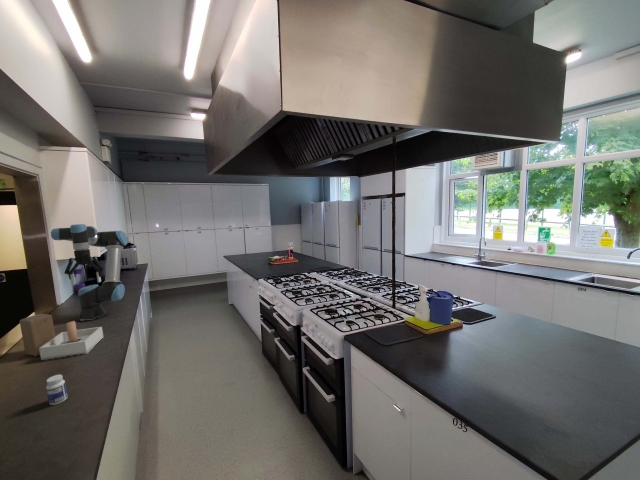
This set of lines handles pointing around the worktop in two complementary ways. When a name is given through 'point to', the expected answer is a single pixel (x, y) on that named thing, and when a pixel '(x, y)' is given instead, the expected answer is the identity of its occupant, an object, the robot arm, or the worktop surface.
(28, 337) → the wooden block
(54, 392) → the pill bottle
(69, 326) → the peg
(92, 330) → the tub
